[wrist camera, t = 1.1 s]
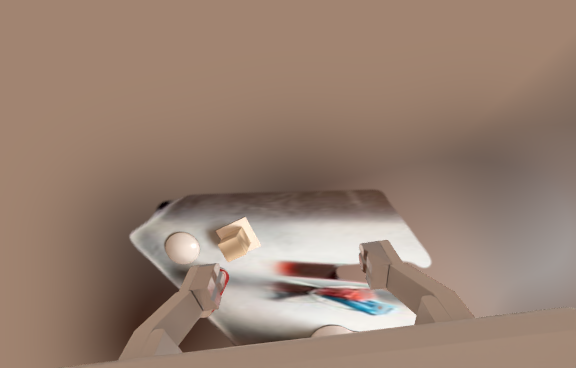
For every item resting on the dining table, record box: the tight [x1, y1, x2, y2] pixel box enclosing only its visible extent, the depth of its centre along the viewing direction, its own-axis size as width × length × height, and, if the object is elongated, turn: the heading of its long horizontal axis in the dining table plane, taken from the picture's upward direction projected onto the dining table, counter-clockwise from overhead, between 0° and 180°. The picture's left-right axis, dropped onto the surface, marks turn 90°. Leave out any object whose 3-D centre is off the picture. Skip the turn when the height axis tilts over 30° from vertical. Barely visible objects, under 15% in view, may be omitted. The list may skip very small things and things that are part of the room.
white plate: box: [166, 232, 200, 264], centre depth 56 cm, size 9×9×1 cm
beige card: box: [216, 217, 261, 252], centre depth 55 cm, size 9×9×1 cm
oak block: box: [218, 227, 251, 262], centre depth 52 cm, size 5×5×6 cm
